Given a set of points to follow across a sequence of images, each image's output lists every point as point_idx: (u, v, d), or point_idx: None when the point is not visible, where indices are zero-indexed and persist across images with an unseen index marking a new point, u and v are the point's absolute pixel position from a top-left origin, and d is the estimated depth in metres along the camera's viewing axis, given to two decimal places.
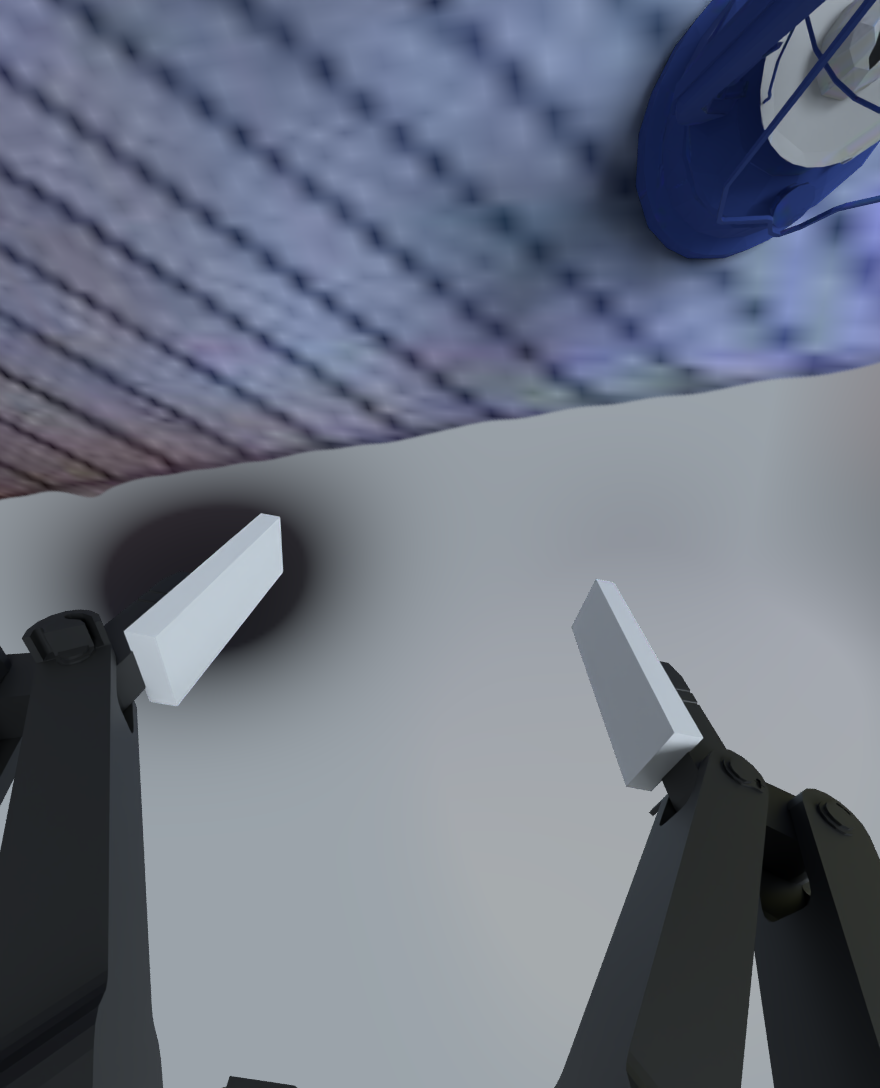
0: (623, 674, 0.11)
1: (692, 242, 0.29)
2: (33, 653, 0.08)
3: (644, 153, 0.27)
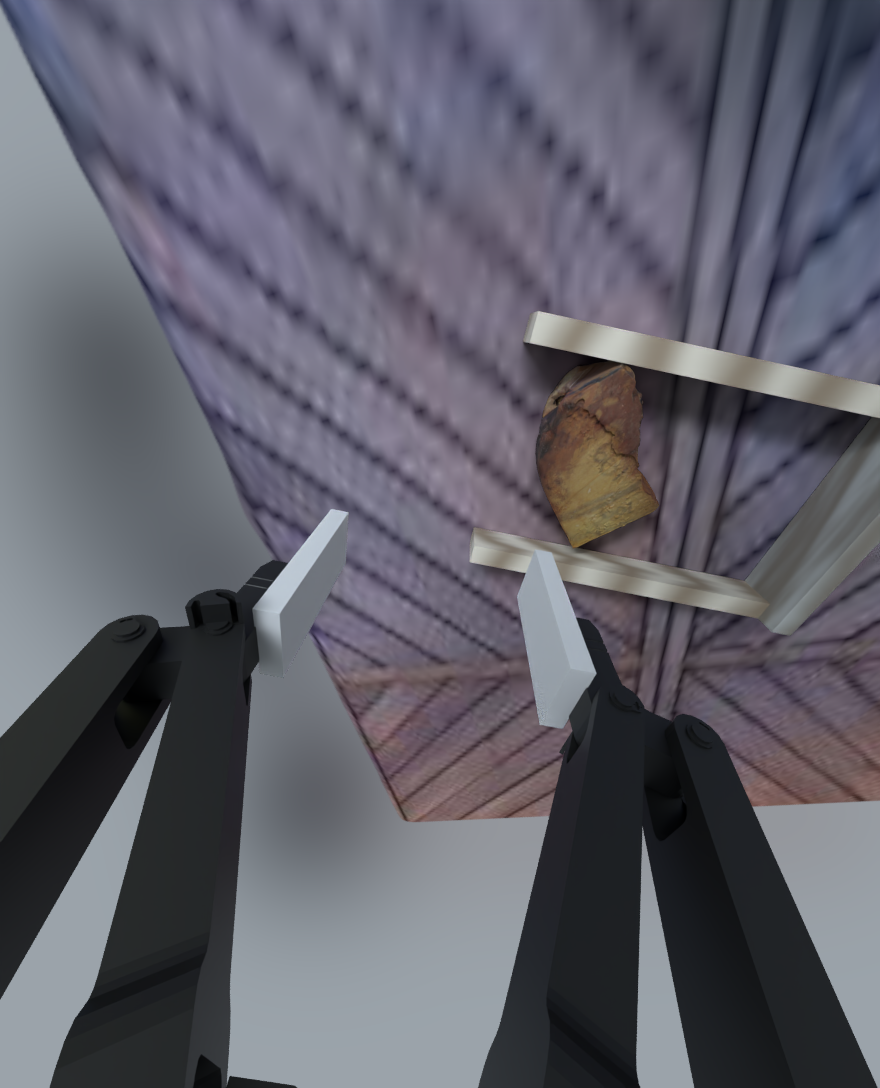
0: (545, 628, 0.13)
1: None
2: (190, 620, 0.09)
3: None
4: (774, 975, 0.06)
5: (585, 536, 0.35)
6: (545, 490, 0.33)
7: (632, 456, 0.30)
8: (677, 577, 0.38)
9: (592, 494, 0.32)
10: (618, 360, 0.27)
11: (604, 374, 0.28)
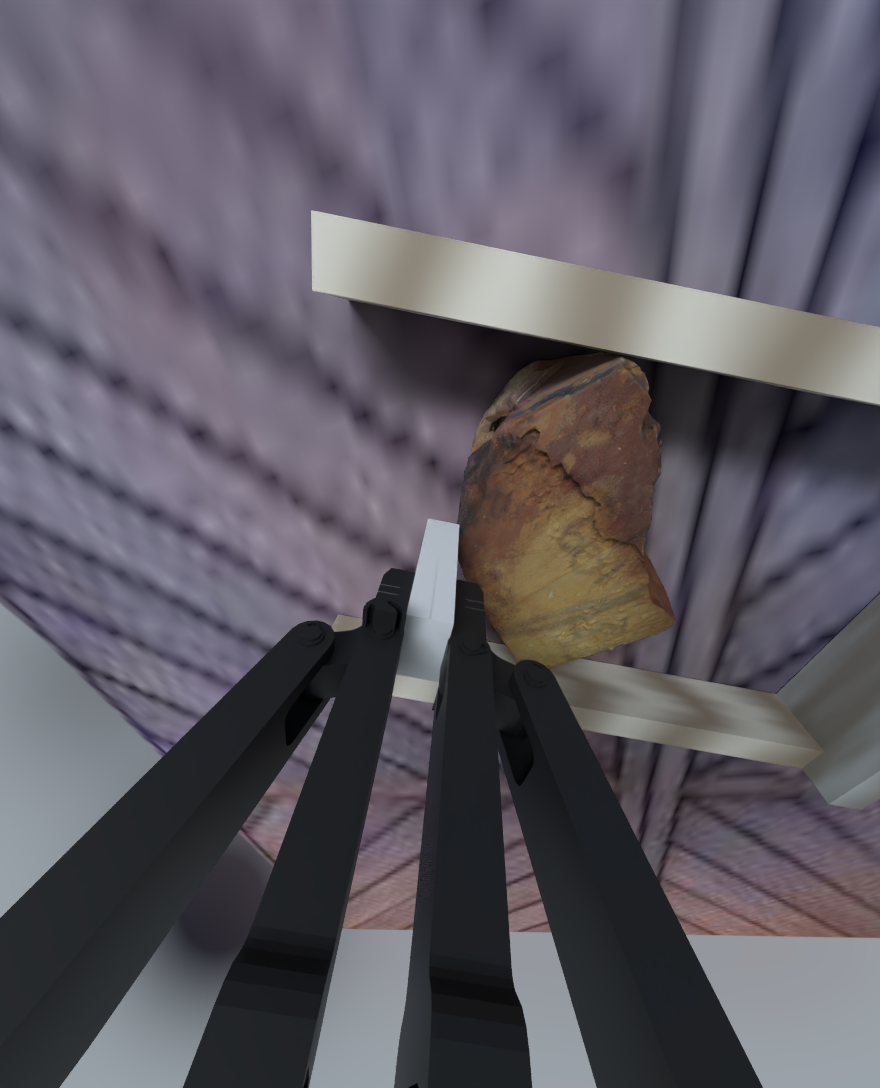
0: None
1: None
2: (363, 620, 0.10)
3: None
4: (610, 881, 0.06)
5: (545, 659, 0.20)
6: None
7: (633, 544, 0.15)
8: (667, 699, 0.23)
9: (557, 602, 0.17)
10: (514, 328, 0.12)
11: (583, 379, 0.13)
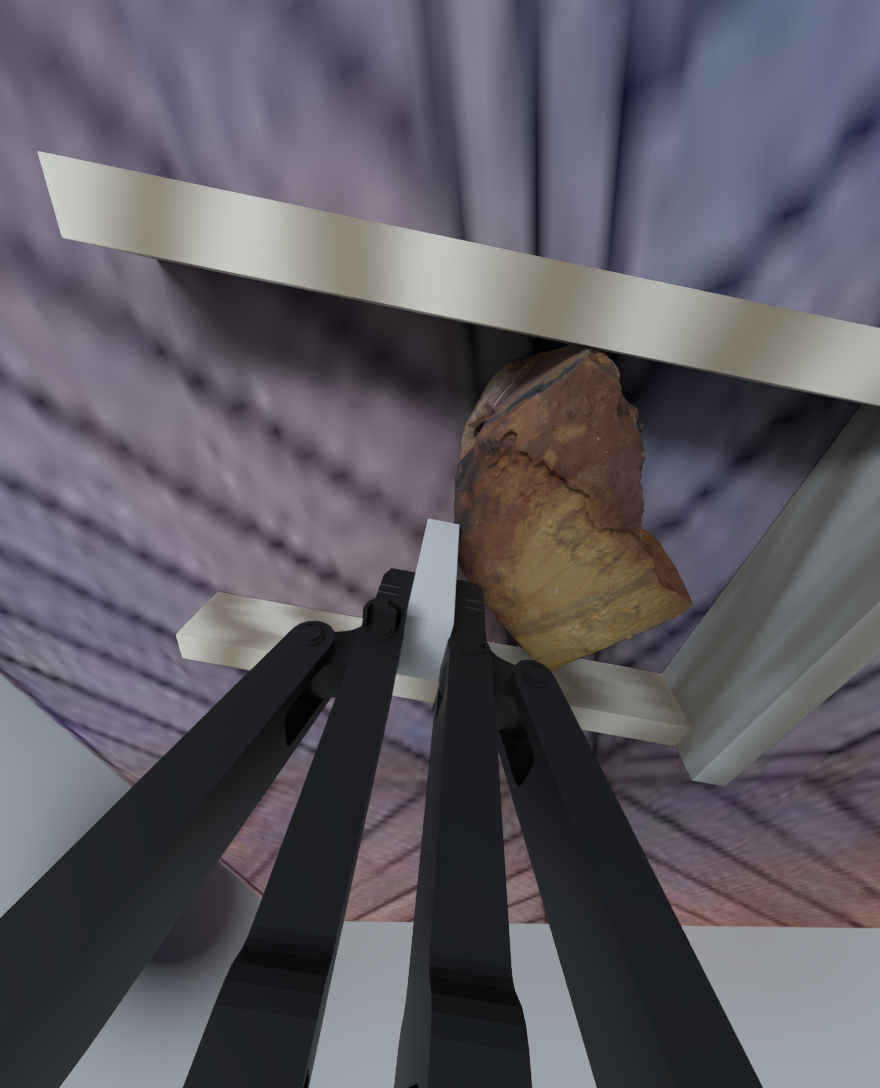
0: None
1: None
2: (363, 620, 0.10)
3: None
4: (610, 881, 0.06)
5: (563, 655, 0.20)
6: None
7: (631, 531, 0.15)
8: None
9: (563, 597, 0.17)
10: (270, 277, 0.12)
11: (552, 376, 0.13)
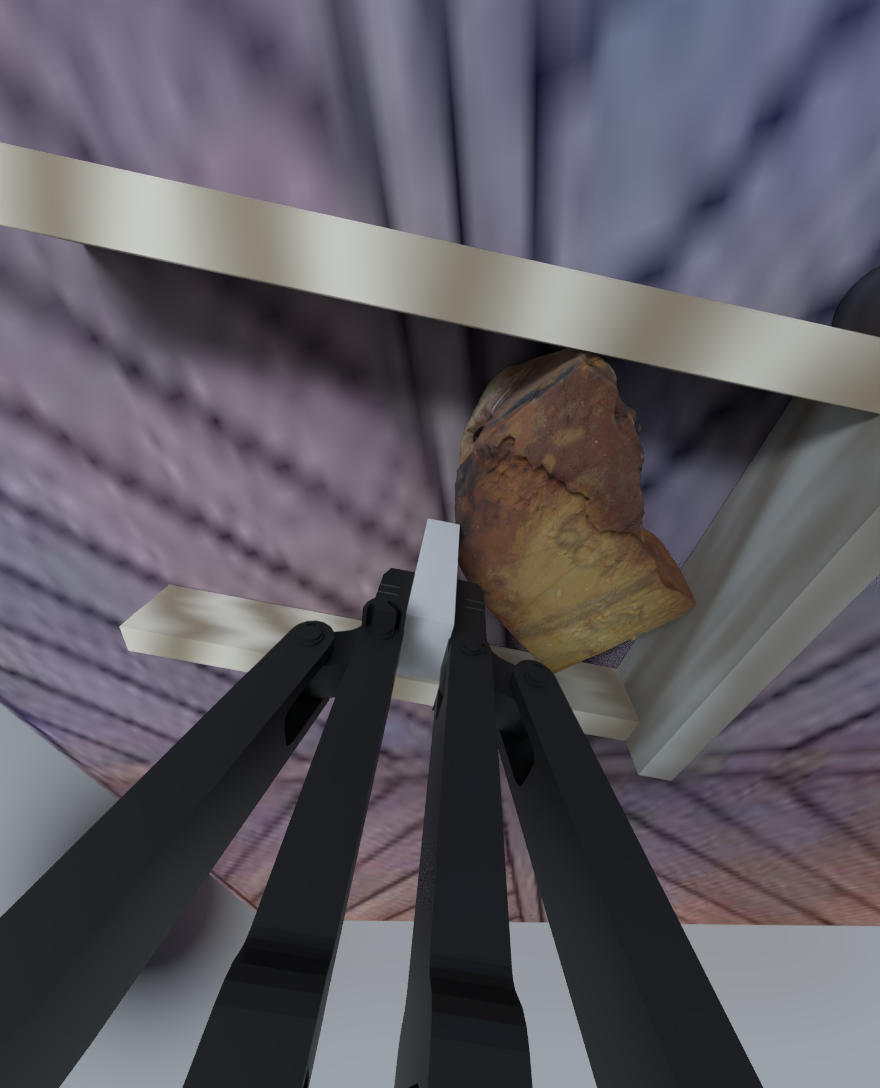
0: None
1: None
2: (363, 620, 0.10)
3: None
4: (610, 881, 0.06)
5: (567, 657, 0.20)
6: None
7: (632, 532, 0.15)
8: None
9: (566, 599, 0.17)
10: (177, 259, 0.12)
11: (548, 381, 0.13)
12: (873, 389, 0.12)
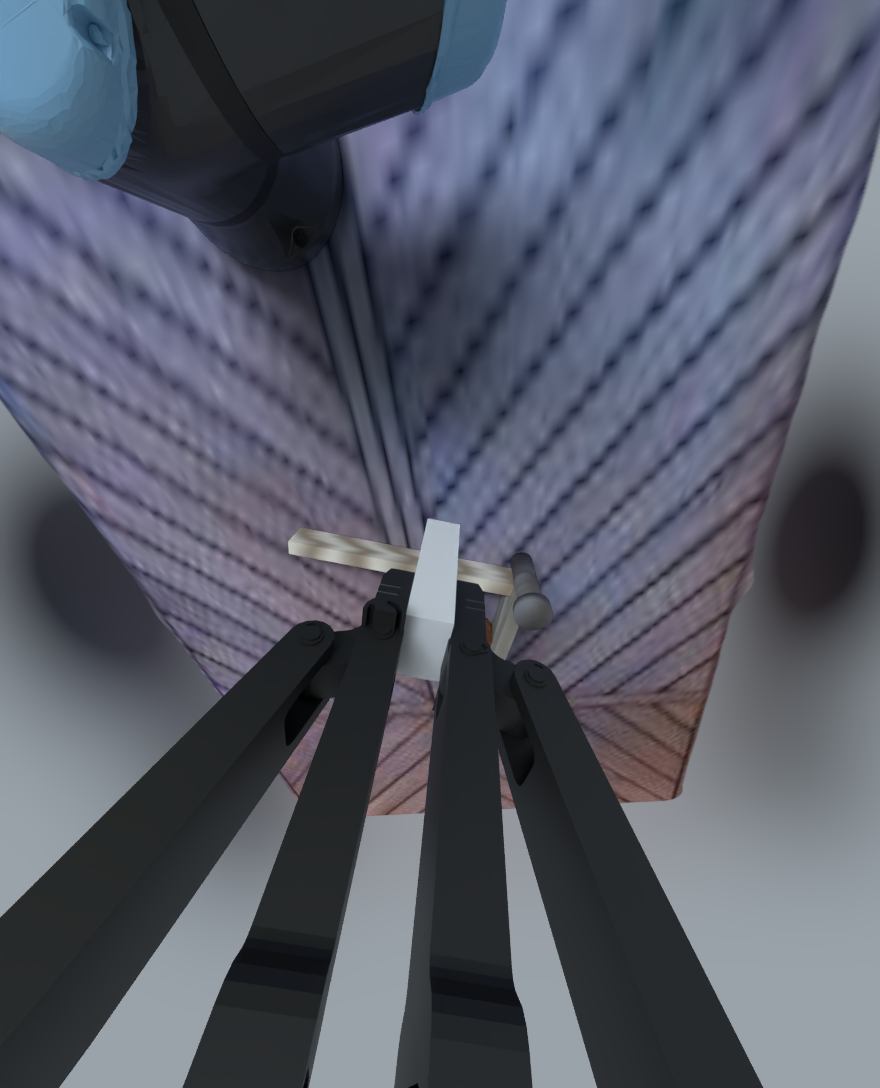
0: None
1: None
2: (363, 620, 0.10)
3: None
4: (610, 881, 0.06)
5: None
6: None
7: None
8: None
9: None
10: (338, 562, 0.49)
11: None
12: (505, 591, 0.50)
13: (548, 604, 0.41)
